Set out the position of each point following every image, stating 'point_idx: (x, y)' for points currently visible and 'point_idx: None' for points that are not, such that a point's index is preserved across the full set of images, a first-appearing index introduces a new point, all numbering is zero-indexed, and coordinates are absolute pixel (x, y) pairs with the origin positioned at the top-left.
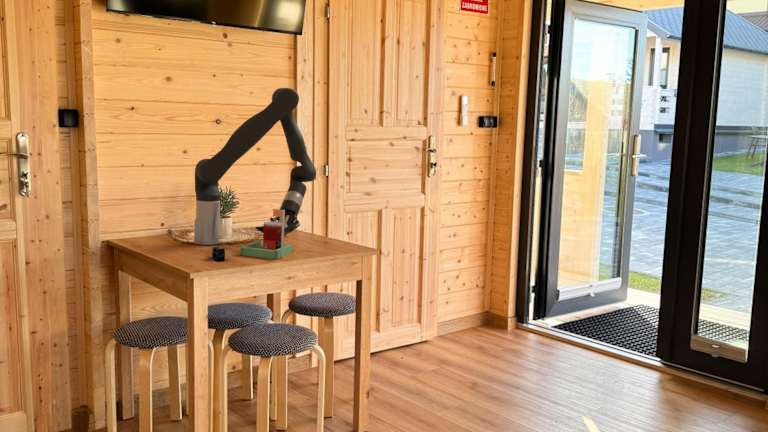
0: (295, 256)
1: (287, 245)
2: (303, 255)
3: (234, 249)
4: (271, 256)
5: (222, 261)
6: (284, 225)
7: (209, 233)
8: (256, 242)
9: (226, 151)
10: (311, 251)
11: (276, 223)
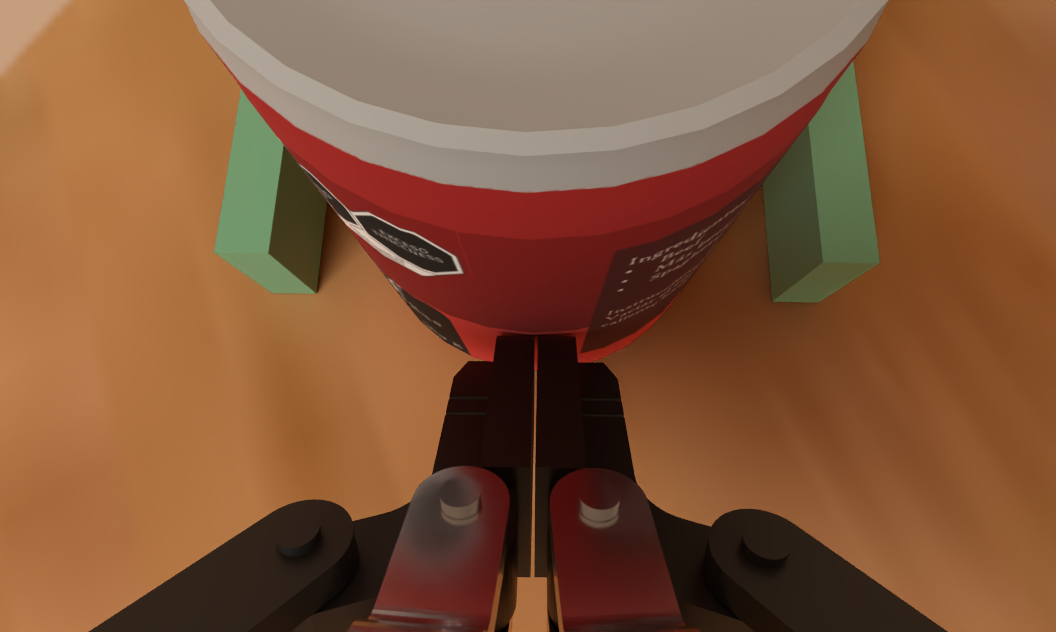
0: (161, 101)
1: (268, 161)
2: (74, 200)
3: (1034, 97)
4: None
5: None
6: (421, 628)
7: None
8: (818, 130)
9: None
10: (7, 514)
11: None
